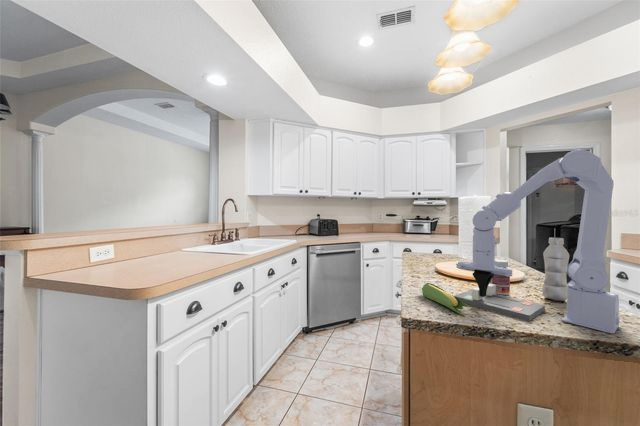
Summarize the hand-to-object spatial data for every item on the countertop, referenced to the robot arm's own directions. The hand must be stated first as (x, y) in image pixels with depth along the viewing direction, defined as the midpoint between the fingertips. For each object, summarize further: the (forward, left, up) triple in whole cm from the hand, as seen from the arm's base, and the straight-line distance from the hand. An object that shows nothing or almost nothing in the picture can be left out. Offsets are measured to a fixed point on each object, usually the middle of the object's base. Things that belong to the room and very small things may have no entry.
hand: (483, 295), depth 84 cm
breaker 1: (+2, 0, -1) cm, 2 cm away
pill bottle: (+3, -19, -3) cm, 19 cm away
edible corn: (+8, +8, -4) cm, 12 cm away
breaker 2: (+1, -8, -1) cm, 8 cm away
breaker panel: (-2, -4, -3) cm, 6 cm away
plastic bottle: (-11, -25, -3) cm, 28 cm away
